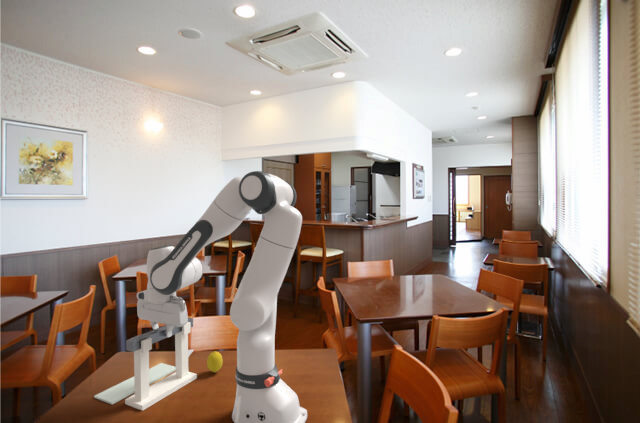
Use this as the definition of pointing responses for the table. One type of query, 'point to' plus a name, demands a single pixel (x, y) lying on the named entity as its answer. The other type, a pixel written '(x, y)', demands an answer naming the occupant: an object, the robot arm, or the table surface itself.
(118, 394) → the mat
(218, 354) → the lemon
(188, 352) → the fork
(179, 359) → the rack
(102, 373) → the table surface
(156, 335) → the rail
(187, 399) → the table surface
